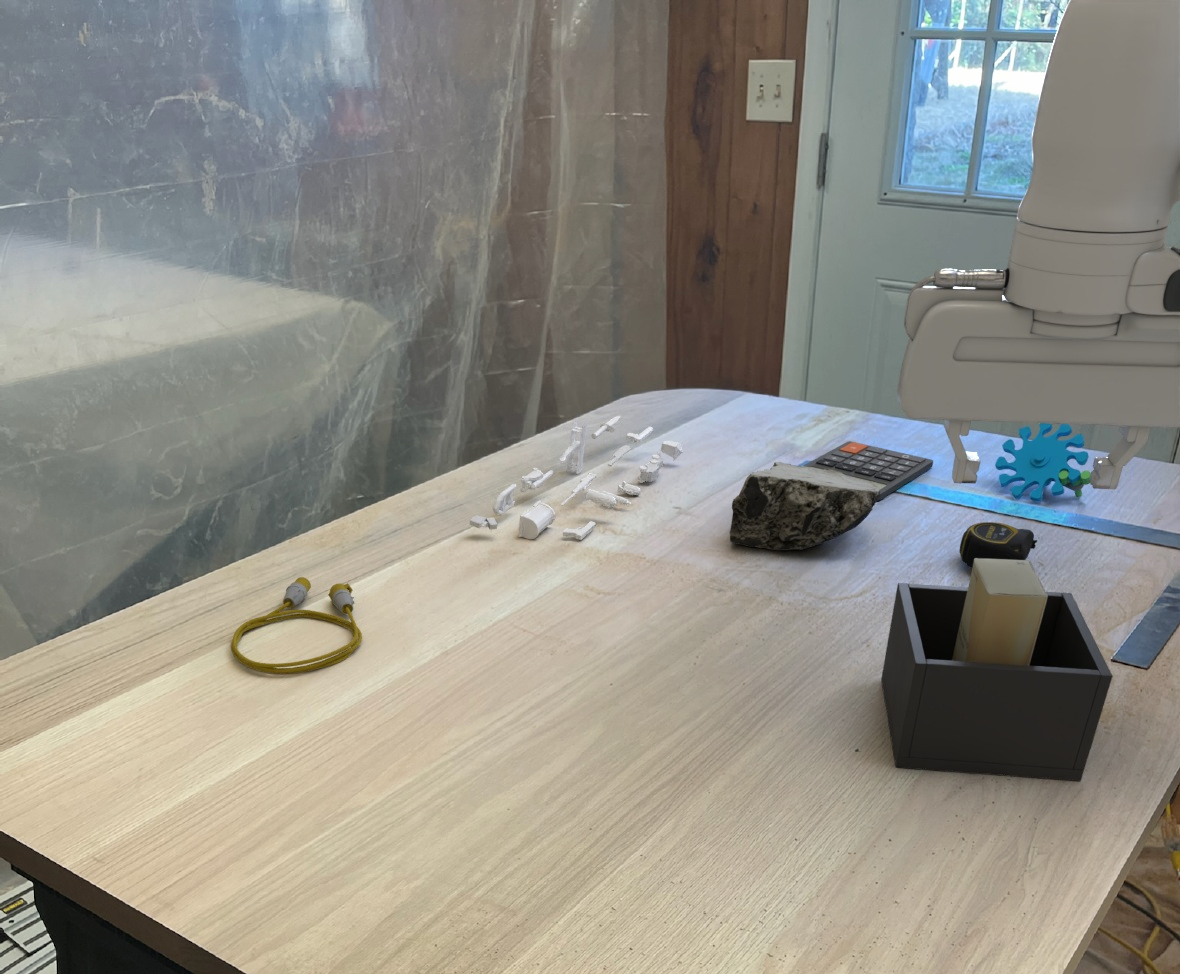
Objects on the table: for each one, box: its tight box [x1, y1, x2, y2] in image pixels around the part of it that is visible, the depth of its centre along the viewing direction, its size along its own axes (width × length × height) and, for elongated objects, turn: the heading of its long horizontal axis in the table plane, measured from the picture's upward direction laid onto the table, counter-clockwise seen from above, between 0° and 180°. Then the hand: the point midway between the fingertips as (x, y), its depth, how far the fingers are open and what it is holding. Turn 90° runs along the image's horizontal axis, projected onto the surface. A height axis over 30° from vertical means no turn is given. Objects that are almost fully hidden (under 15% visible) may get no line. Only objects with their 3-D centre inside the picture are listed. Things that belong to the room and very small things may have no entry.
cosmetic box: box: [952, 558, 1048, 666], centre depth 88 cm, size 6×4×12 cm
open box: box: [881, 582, 1113, 782], centre depth 89 cm, size 14×14×9 cm
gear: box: [994, 423, 1091, 503], centre depth 134 cm, size 11×6×10 cm
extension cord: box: [230, 576, 363, 675], centre depth 104 cm, size 12×16×2 cm
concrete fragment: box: [729, 461, 880, 551], centre depth 121 cm, size 15×10×15 cm
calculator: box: [802, 441, 934, 501], centre depth 139 cm, size 12×1×15 cm
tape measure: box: [958, 521, 1038, 569], centre depth 116 cm, size 7×7×4 cm
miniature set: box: [469, 415, 684, 541], centre depth 132 cm, size 6×35×12 cm
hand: (1032, 483), depth 81 cm, fingers open, 8 cm apart
